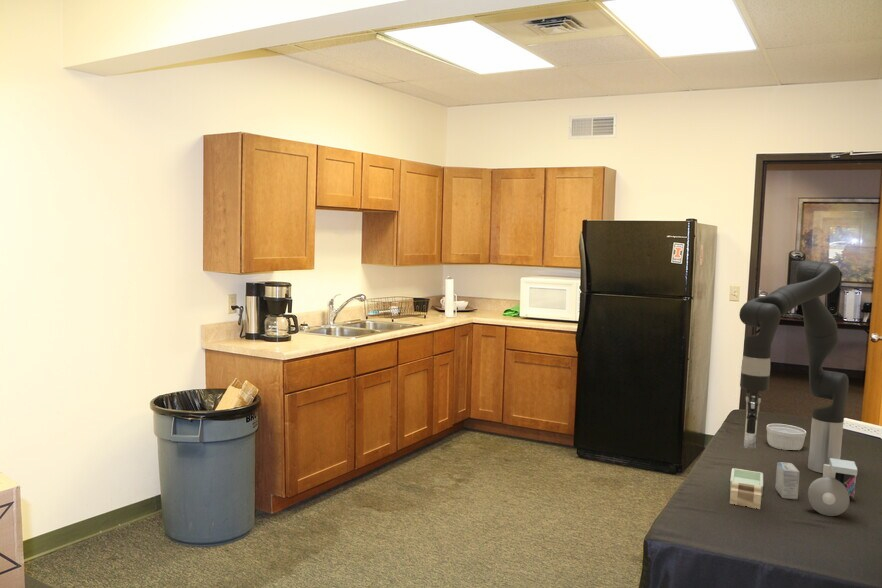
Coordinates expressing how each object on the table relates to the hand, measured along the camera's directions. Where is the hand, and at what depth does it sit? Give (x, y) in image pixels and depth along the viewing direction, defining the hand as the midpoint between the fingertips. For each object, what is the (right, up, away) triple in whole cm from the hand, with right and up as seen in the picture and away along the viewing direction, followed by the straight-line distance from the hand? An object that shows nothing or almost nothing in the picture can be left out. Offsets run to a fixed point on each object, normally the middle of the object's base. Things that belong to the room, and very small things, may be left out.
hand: (750, 431), depth 203 cm
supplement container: (+31, -22, +9) cm, 38 cm away
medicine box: (+15, -21, +9) cm, 27 cm away
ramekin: (+38, -17, +59) cm, 72 cm away
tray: (+5, -20, +15) cm, 25 cm away
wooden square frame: (-1, -21, +2) cm, 21 cm away
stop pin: (0, -5, 0) cm, 5 cm away
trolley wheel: (+20, -22, -4) cm, 30 cm away
